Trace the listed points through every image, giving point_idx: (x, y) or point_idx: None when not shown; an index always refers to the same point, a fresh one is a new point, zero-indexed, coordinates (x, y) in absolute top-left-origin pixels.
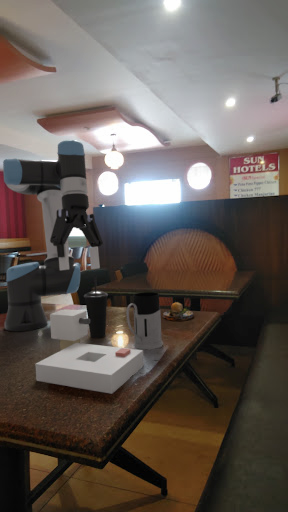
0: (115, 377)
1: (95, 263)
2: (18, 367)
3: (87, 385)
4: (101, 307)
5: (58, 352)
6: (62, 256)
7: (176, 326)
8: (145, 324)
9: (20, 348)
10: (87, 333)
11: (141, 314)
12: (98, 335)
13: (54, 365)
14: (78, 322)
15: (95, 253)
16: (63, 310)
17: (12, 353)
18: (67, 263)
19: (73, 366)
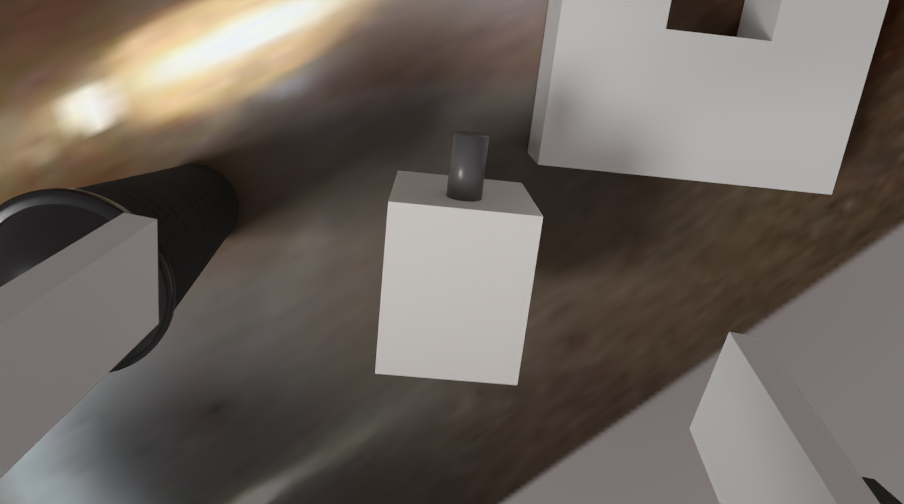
0: None
1: (119, 284)
2: (673, 329)
3: None
4: (151, 197)
5: (687, 174)
6: (873, 480)
7: None
8: None
9: (468, 457)
10: (400, 171)
11: None
12: (227, 186)
13: (848, 98)
14: (485, 198)
15: (15, 348)
16: (410, 357)
17: (531, 449)
18: (783, 377)
19: (859, 1)
